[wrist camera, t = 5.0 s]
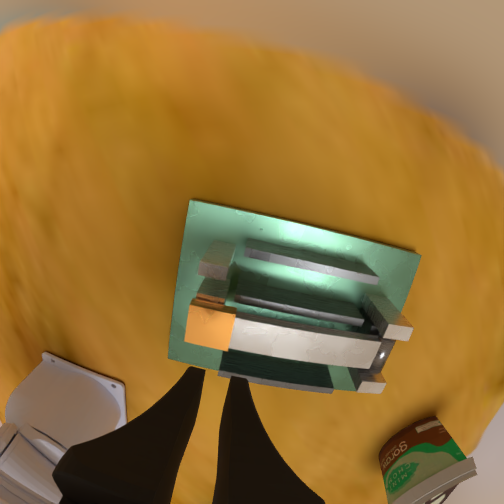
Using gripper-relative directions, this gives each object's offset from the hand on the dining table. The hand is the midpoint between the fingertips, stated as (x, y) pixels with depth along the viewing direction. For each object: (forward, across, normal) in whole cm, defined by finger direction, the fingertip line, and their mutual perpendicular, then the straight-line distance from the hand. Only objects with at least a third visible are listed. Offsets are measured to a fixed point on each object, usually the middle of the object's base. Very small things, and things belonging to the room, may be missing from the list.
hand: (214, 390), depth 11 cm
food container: (+10, -21, +15) cm, 28 cm away
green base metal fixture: (+10, -4, 0) cm, 11 cm away
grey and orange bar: (+6, -4, 0) cm, 7 cm away
